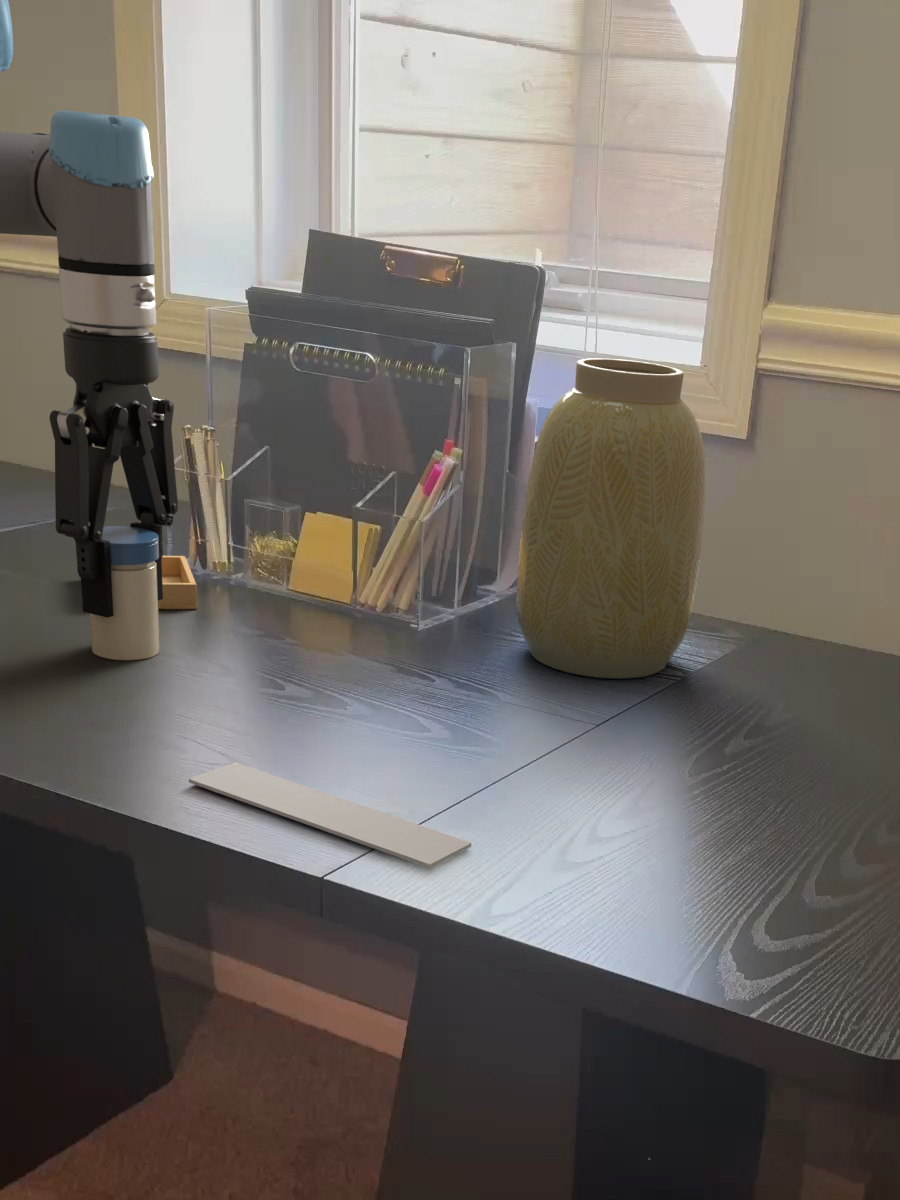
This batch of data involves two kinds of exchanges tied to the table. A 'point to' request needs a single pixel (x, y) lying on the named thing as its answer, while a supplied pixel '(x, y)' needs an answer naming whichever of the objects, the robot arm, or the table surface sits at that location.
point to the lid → (131, 545)
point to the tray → (177, 584)
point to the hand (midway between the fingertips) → (123, 604)
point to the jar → (129, 615)
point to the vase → (612, 523)
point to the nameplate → (332, 814)
